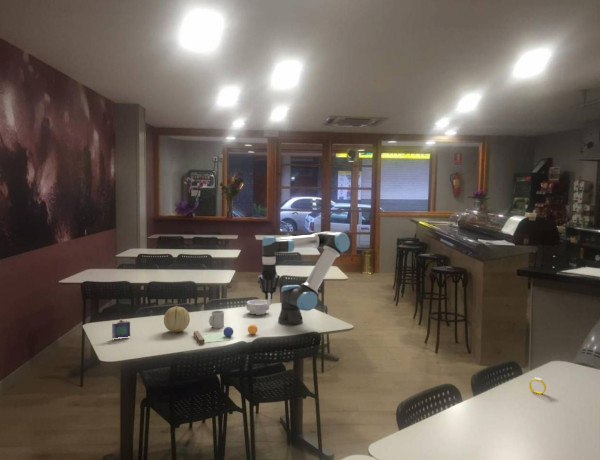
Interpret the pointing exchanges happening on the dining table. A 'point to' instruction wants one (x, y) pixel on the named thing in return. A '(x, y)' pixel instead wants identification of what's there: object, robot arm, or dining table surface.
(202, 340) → the backstop rail
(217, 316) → the cup
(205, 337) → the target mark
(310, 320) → the dining table surface
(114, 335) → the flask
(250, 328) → the orange ball
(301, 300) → the robot arm
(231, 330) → the navy ball
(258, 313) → the paper bowls
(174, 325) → the cantaloupe
